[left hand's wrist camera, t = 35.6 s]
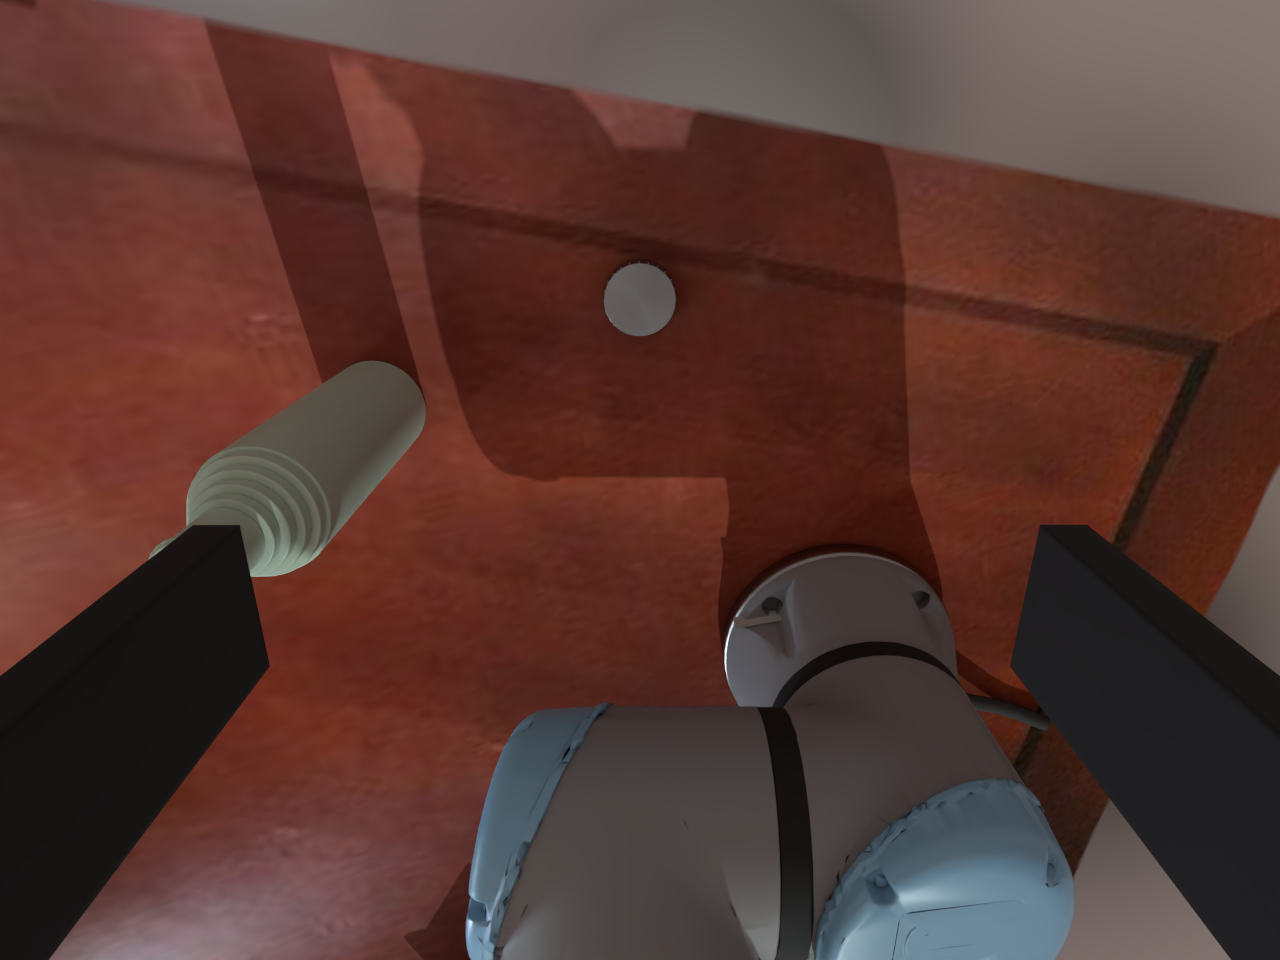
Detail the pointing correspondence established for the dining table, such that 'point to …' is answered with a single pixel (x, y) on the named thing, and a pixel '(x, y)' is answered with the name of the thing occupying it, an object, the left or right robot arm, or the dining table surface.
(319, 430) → the bottle
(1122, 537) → the dining table surface
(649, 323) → the cap
